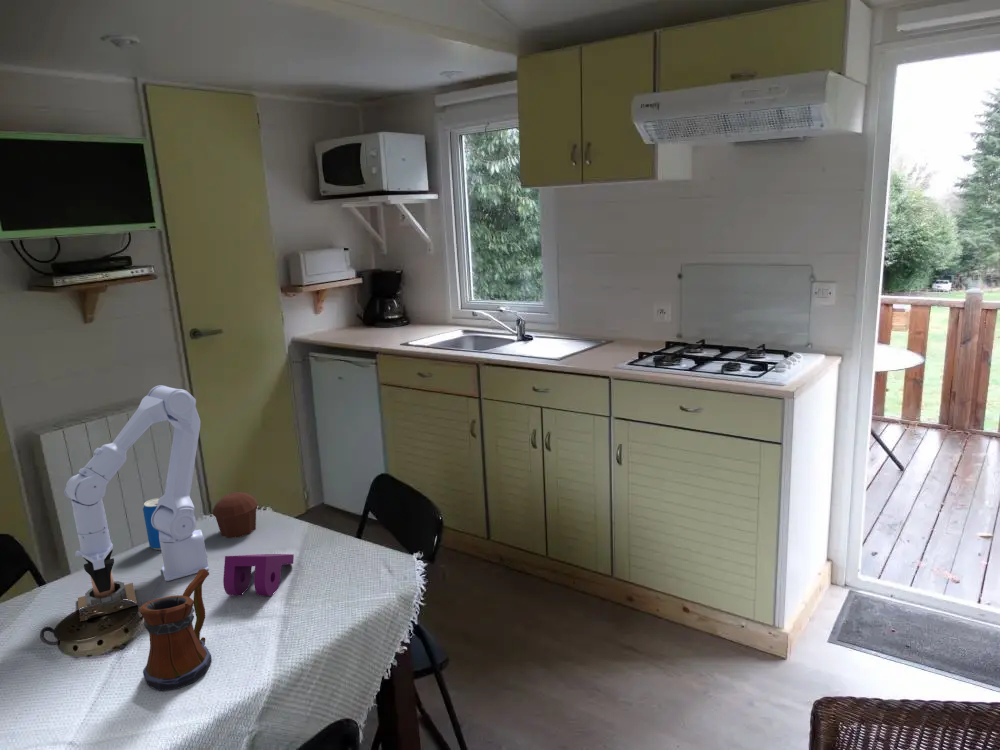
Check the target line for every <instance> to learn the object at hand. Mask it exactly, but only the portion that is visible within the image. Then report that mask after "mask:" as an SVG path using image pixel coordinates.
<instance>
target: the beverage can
mask: <svg viewBox="0 0 1000 750" xmlns="http://www.w3.org/2000/svg"><path fill="white" fill-rule="evenodd" d="M160 498H161V497H154V498H151V499H149V500H146V501H145V502H144V503H143V507H142V511H143V517H144V523H145V529H146V535H147V540H148V544H149V548H151V549H154V550H157V551H158V550H159V551H161V546H160V541H159V531H158V530H156V529H155V528H154V527H153V526H152V523H151V517H152V514H153V513H154V511H155V510H156V508H157V504H158V500H159V499H160Z"/></svg>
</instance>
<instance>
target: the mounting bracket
mask: <svg viewBox="0 0 1000 750" xmlns="http://www.w3.org/2000/svg"><path fill="white" fill-rule="evenodd" d="M294 558H295V554H294V553H293V554H291V553H286V554H285V553H270V554H269V553H266V554H264V553H262V554H261V553H260V554H258V553H257V554H239V555H226V556H224V564H223V565H224V566H223V577H222V578H223V579H222V580H223V581H222V583H223V589H224V592H225V593H226V595H227V596H231V597H232V596H235V597H236V596H240V597H241V596H243V595H242V593H243V592H244V591H245V590H246V589H247V588H248V589H249V588H250V584H251V579H252V570H253V567H254V576H253V585H254V591H255V593H256V594H257V595H258V596H260V597H268V596H269V597H272V595H273V593H274V592H275V591H276V590H277V589H278V590H279V586H280V584H281V583H280V582H281V576H282V575H281V574H282V566H283V565H293V564H294V560H295V559H294ZM248 589H247V590H248ZM247 590H246V591H247ZM278 590H277V591H278ZM277 591H276V592H277ZM276 592H275V593H276ZM275 593H274V594H275ZM273 596H274V595H273Z"/></svg>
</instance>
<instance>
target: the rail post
mask: <svg viewBox="0 0 1000 750" xmlns="http://www.w3.org/2000/svg"><path fill="white" fill-rule="evenodd" d="M112 573H113V571H111V588H110V590H109V591H105V592H102V593H99V591H98V589H97V587H96V585H95V583H94V581H93V579H92V577H91V576H90V581H91V584H92V585H91V586H92V588H93V591H94V596H95V598H98V597H104V596H108V595H111V594H113V593H115V587H114V582H113V581H114V577H113V574H112Z"/></svg>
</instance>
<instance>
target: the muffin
mask: <svg viewBox="0 0 1000 750" xmlns="http://www.w3.org/2000/svg"><path fill="white" fill-rule="evenodd" d="M258 505H259V502H258V500H257V499H256V498H255V496H252V495H251V494H249V493H246V492H241V491H237V492H231V493H228V494H226V495H224V496H223V497H221V498H220V499H219V500H218V501H217V502H216V503H215V505H214V507H213V508H212V509H211V510H212V511H211V515H213V516H214V518H215V520H216V524H217V526H218V530H219V531H220V535H221V537H225V538H227V539H232V538H242V537H244V536H246V535H250V534H251V533H252V532H254V531H255V530H256V529H257V527H256V526H257V508H258Z"/></svg>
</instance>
